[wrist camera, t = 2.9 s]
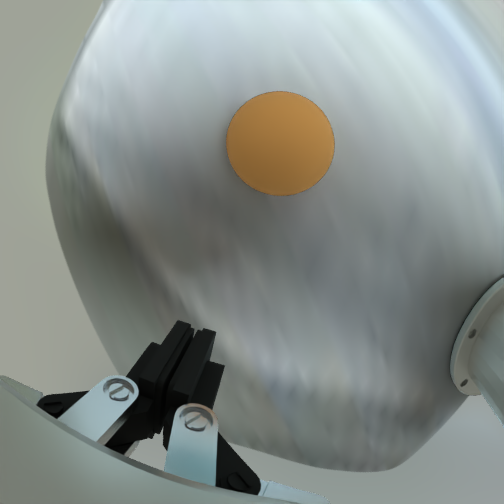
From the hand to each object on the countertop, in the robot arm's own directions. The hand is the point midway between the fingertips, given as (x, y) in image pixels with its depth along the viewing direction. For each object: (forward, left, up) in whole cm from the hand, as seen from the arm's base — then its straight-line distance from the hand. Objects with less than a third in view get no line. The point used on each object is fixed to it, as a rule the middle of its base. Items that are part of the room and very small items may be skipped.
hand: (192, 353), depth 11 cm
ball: (-1, -10, -5) cm, 11 cm away
